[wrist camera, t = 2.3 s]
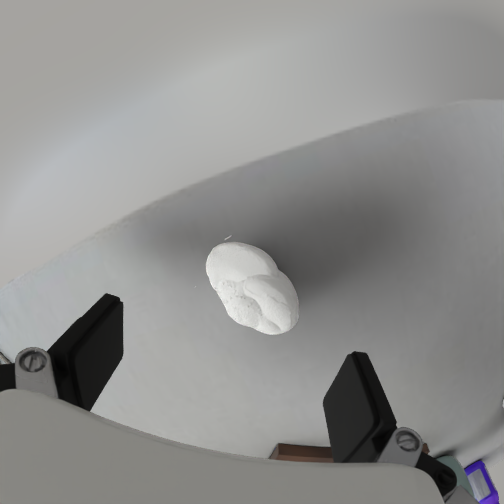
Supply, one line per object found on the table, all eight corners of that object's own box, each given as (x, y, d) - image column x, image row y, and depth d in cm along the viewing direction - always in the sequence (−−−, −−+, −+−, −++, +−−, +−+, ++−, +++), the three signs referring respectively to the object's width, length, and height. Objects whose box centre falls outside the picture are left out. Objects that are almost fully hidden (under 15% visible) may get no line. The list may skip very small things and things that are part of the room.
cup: (416, 461, 26) (434, 514, 17) (461, 442, 25) (483, 490, 16) (406, 481, 29) (419, 528, 19) (447, 465, 28) (463, 508, 18)
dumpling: (313, 294, 19) (314, 338, 16) (247, 315, 21) (238, 357, 18) (265, 208, 16) (257, 244, 13) (193, 241, 18) (172, 279, 15)
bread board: (426, 443, 25) (431, 454, 23) (376, 488, 29) (378, 499, 27) (278, 443, 24) (278, 459, 22) (249, 487, 29) (248, 499, 27)
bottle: (460, 469, 29) (485, 534, 12) (484, 454, 28) (512, 516, 11) (454, 481, 31) (475, 540, 14) (477, 468, 30) (500, 524, 13)
